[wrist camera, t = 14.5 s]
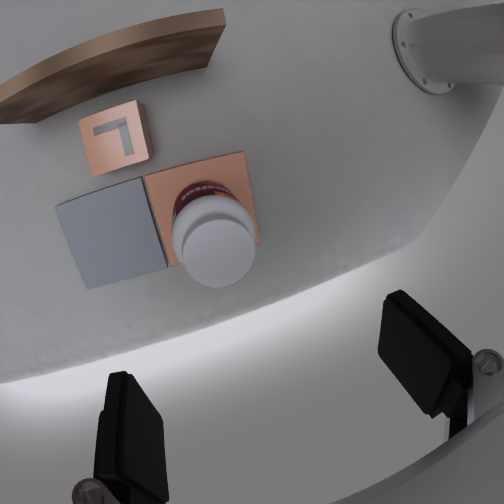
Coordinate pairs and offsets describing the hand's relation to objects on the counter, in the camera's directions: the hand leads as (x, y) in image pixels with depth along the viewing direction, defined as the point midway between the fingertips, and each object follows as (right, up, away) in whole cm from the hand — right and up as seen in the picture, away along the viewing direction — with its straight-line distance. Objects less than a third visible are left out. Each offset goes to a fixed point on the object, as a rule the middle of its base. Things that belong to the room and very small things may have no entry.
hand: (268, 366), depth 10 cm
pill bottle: (-5, +8, +19) cm, 21 cm away
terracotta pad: (-5, +8, +19) cm, 22 cm away
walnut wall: (-14, +20, +12) cm, 27 cm away
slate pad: (-15, +6, +18) cm, 24 cm away
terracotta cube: (-13, +15, +15) cm, 24 cm away
